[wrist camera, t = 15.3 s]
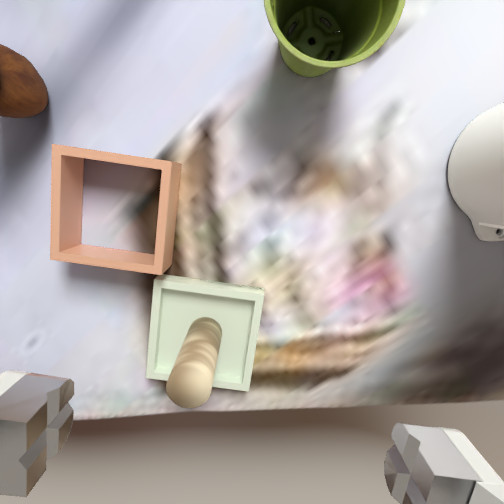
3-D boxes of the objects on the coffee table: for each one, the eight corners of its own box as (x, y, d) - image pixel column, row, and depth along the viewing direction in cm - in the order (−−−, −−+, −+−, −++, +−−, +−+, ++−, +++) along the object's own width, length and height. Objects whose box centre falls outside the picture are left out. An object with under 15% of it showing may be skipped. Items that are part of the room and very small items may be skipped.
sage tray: (263, 288, 44) (264, 294, 42) (248, 380, 47) (248, 391, 45) (159, 273, 44) (154, 279, 42) (151, 367, 47) (145, 377, 45)
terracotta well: (181, 163, 41) (171, 161, 36) (171, 264, 44) (161, 275, 39) (76, 148, 41) (52, 143, 36) (73, 250, 43) (50, 259, 39)
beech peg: (224, 319, 44) (213, 371, 33) (220, 349, 45) (208, 410, 34) (190, 315, 44) (168, 365, 32) (187, 345, 45) (164, 405, 34)
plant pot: (353, 104, 39) (391, 76, 28) (254, 91, 39) (254, 57, 28) (372, -9, 37) (423, -88, 26) (267, -23, 37) (273, -110, 26)
